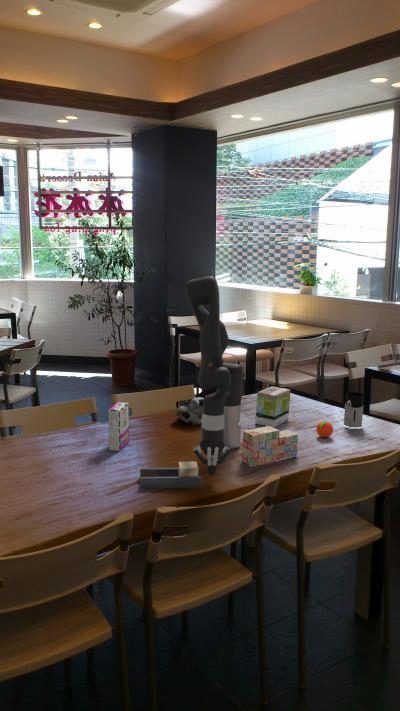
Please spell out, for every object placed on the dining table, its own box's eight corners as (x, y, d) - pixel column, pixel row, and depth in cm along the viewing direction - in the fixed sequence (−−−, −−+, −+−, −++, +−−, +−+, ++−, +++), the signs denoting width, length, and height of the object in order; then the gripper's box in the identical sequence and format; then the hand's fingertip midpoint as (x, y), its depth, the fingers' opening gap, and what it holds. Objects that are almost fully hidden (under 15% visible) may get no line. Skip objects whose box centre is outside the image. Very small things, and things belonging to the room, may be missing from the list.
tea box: (275, 428, 265) (276, 395, 262) (254, 424, 270) (256, 391, 267) (289, 420, 278) (291, 388, 275) (269, 416, 283) (270, 385, 280)
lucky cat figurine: (182, 415, 280) (198, 389, 278) (202, 429, 275) (218, 403, 274) (168, 413, 266) (184, 387, 265) (189, 429, 262) (205, 401, 260)
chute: (198, 477, 210) (198, 467, 209) (201, 487, 201) (201, 477, 200) (140, 478, 207) (140, 468, 207) (140, 488, 199) (140, 478, 198)
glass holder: (365, 426, 272) (368, 393, 269) (354, 434, 260) (357, 400, 257) (346, 422, 276) (348, 390, 273) (335, 430, 264) (337, 397, 261)
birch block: (196, 475, 208) (196, 461, 207) (197, 482, 202) (198, 468, 201) (178, 475, 207) (178, 461, 206) (179, 482, 201) (180, 468, 200)
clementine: (326, 442, 249) (328, 425, 248) (311, 438, 253) (312, 421, 252) (335, 437, 256) (336, 421, 254) (320, 433, 260) (321, 417, 258)
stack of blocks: (286, 452, 236) (288, 422, 234) (297, 457, 231) (298, 426, 229) (241, 461, 225) (242, 430, 223) (251, 467, 220) (253, 435, 218)
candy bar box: (117, 441, 243) (117, 401, 240) (129, 442, 242) (129, 402, 239) (107, 450, 232) (107, 409, 229) (120, 451, 231) (120, 410, 228)
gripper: (230, 422, 206) (228, 470, 210) (191, 422, 205) (190, 471, 208) (234, 429, 199) (232, 479, 202) (194, 429, 197) (192, 479, 201)
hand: (211, 475), depth 205 cm, fingers closed
